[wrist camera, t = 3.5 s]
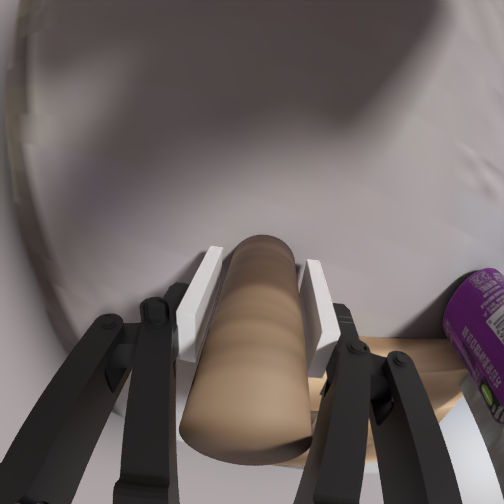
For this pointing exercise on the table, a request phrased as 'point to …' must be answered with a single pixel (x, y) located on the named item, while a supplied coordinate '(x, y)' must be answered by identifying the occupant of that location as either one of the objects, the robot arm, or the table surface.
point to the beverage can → (480, 334)
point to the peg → (253, 364)
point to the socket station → (428, 392)
